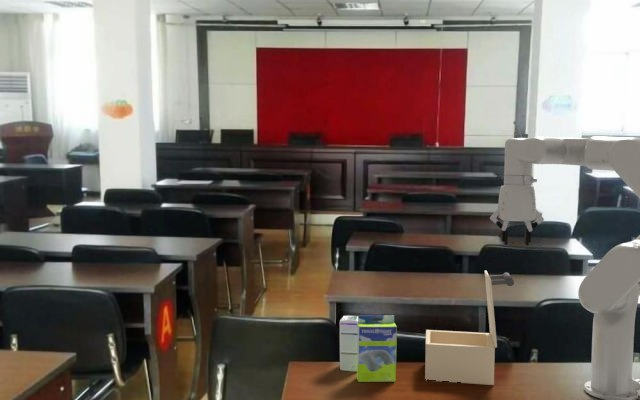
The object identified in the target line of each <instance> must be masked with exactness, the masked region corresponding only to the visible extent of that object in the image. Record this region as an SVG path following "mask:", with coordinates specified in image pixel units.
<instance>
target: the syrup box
mask: <svg viewBox="0 0 640 400" xmlns="http://www.w3.org/2000/svg"><path fill="white" fill-rule="evenodd" d="M358 316H359V315H343V316H342V317H341V318H340V320H339V369H340V371H345V372H357V342H358V329H357V324H358Z"/></svg>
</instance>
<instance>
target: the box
mask: <svg viewBox="0 0 640 400" xmlns="http://www.w3.org/2000/svg"><path fill="white" fill-rule="evenodd" d="M357 316H358V324H357V329H358V342H357V371H356V380H357V382H358V383H362V382H363V383H372V382H373V383H376V382H378V383H379V382H383V383H384V382H394V383H395V382H396V381H397V380H396V378H397V377H396V376H397V351H398V350H397V345H398V344H397V342H398V341H397V339H398V337H397V336H398V335H397V334H398V333H397V331H398V329H397V328H398V326H397V325H396V323H395V315H393V314H390V315H389V314H388V315H387V314H386V315H385V314H384V315H380V314H378V315H376V314H375V315H373V314H372V315H371V314H370V315H357ZM376 318H377V319H381V320H372V319H376Z"/></svg>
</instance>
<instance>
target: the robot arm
mask: <svg viewBox="0 0 640 400" xmlns="http://www.w3.org/2000/svg"><path fill="white" fill-rule="evenodd" d="M534 164H535V165H566V166H567V165H570V166H581V167H586V168H587V169H589V170H593V171H594V170H598V171H611V172H612V171H613V172H615V173H616V174H617V176H618V177H619V178H620V179H621V180H622V181H623V182H624V183H625V184H626V185H627V186H628V188H629V189H630V190H632V191H633V193H634V194H635V195H636V196H637V197H638V198H639V199H640V137H631V136H630V137H627V136H626V137H624V136H619V137H618V136H596V135H595V136H590V137H588V138H585V137H584V138H580V137H579V138H577V137H576V138H575V137H574V138H573V137H556V136H555V137H553V136H533V137H529V138H528V137H517V138H516V137H514V138H513V137H511V138H508V139H506V141H505V143H504V170H503V171H504V172H503V174H504V175H503V185H501V186H500V190H499V194H498V204H497V205H498V206H497V209H496V210H495V211H494V212H493V213H492V214H491V215H490V217H489V219H490V221H491V222H493V224H495V225H496V226H497V227H498V228H500V230H501V242H503V244H504V245H505V246H507V245H508V241H509V240H508V239H509V238H508V235H509V232H508V229H507V227H508V225H509V222H524V224H525V227H526V228H525V230H524V239H523V240H524V242H523V243H524V245H525V246H529V243H531V242H532V241H531V240H532V231H533V230H534V229H536V227H537V226H538V225H540V224H542V223H543V222H544V221H545V218H544V217H543V216H542V215H541V213H540V212H539V211H538V210H537V205H536V204H537V203H536V193H535V186H532V185H533V184H534V183H537V182H538V178H537V177H535V176H533V172H532V170H533V165H534ZM498 219H500V220H501V221H499V220H498ZM639 283H640V234H639V235H638V236H637V237H636V238H635V239H633V240H631V241H627V242H623V243H620V244H619V243H618V245H615V246H614V247H612V248H611V249H610V250H609V251H607V252H606V254H605V255H604V256H603V257H602V258H600V260H599V261H598V262H597V264H596V265H595V266H594V267H593V268H592V269H591V270H590V272H589V273H588V274H587V275H586V276H585V277H584V279H582V281H581V282H580V284H579V288H578V292H577V294H578V295H577V296H578V300H579V302H580V304H581V306H582V307H583V308H584V309H585V310H587V311H589V312H590V313H592V314H593V319H592V321H593V322H592V334H591V335H592V337H591V338H592V339H591V365H590V366H591V368H590V380H588V381H586V382H585V383H584V384H583V389H584V391H585V392H586V393H587V394H589V395H590V396H592V397H593V398H598V399H601V400H637V399H638V398H639V391H640V378H639V379H635V378H634V377H633V364H634V363H633V362H634V358H633V357H634V342H635V341H634V340H635V338H634V337H635V324H636V323H635V321H636V313H637V308H638V304H639V296H640V290H639V286H638V284H639Z"/></svg>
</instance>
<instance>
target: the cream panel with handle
mask: <svg viewBox="0 0 640 400" xmlns="http://www.w3.org/2000/svg"><path fill="white" fill-rule="evenodd" d="M484 281H485V290H486V291H485V292H486V302H487V303H486V304H487V313H488V314H487V316H488V324H489V325H488V326H489V333H490V335H491V338H492V341H493V344H494V347H495V348H498V341H497V331H496V321H495V320H496V319H495V308H494V297H493V296H494V295H493V288H492V287H493V286H497V285H499V286H500V285H507V286H508V287H512V286H514V284H515V281H514V279H513V278H512V276H511V275H510V273H509V272H503V274H498V275H496V274H495V275H494V274H493V275H489V273H488V271H487V270H484Z"/></svg>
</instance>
